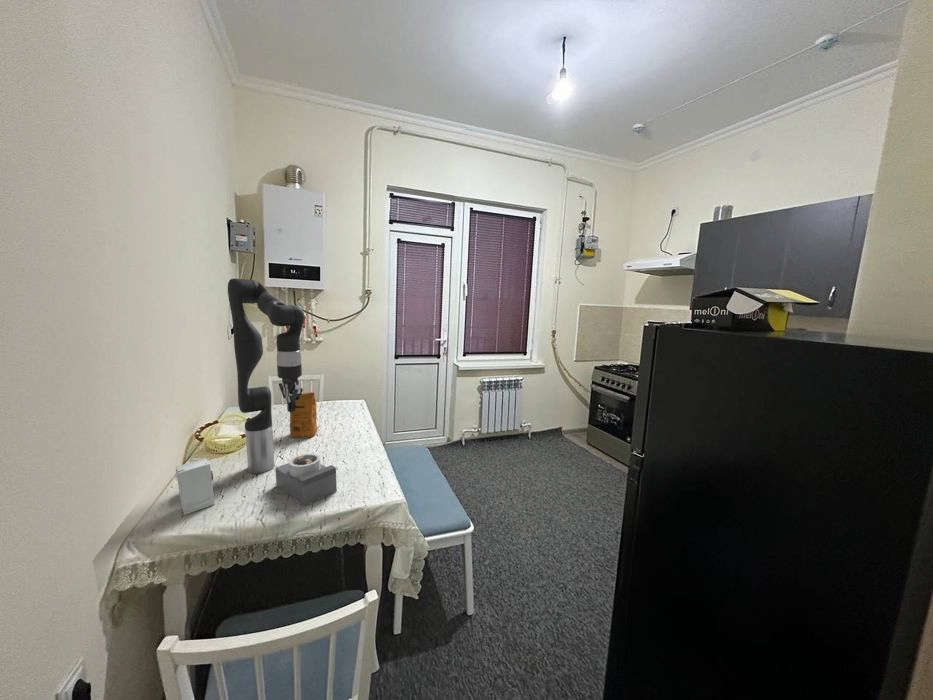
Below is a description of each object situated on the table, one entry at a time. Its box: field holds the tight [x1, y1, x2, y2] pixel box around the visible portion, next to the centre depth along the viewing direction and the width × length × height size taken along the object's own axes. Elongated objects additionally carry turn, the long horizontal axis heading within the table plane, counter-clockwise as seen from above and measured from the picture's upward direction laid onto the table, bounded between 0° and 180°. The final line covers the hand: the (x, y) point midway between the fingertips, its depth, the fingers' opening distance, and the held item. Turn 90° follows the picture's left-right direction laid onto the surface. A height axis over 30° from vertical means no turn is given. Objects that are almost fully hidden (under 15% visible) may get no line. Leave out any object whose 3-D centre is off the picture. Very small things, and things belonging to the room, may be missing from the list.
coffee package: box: [289, 391, 318, 439], centre depth 171 cm, size 10×12×22 cm
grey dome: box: [297, 456, 313, 465], centre depth 123 cm, size 6×5×4 cm
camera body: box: [275, 453, 337, 507], centre depth 123 cm, size 20×12×11 cm, turn 52°
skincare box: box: [175, 457, 216, 516], centre depth 111 cm, size 8×6×15 cm
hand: (291, 411), depth 121 cm, fingers closed
